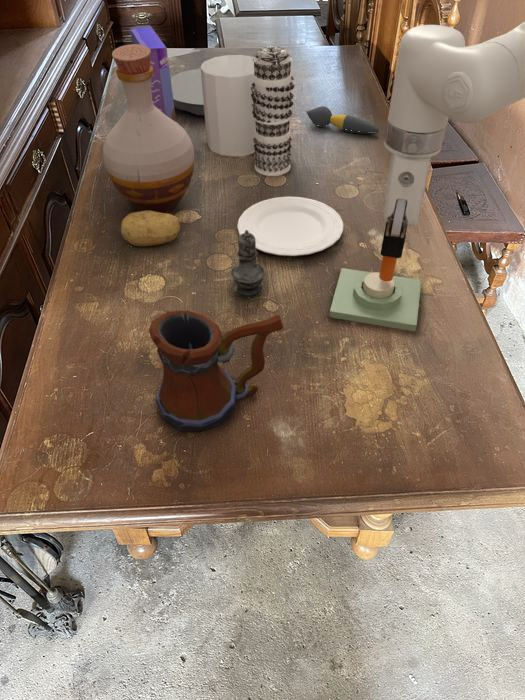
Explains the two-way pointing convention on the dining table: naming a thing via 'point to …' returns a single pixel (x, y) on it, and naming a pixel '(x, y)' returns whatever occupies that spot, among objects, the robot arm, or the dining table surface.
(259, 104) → the decorative candle
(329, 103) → the dining table surface
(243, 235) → the chess piece
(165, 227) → the potato
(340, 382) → the dining table surface
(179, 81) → the flat disc
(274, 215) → the plate
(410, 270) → the dining table surface
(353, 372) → the dining table surface
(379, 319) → the push button block
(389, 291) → the circle pad
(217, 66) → the container
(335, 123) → the paintbrush
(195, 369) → the mug
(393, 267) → the marker
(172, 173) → the jug
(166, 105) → the cereal box
